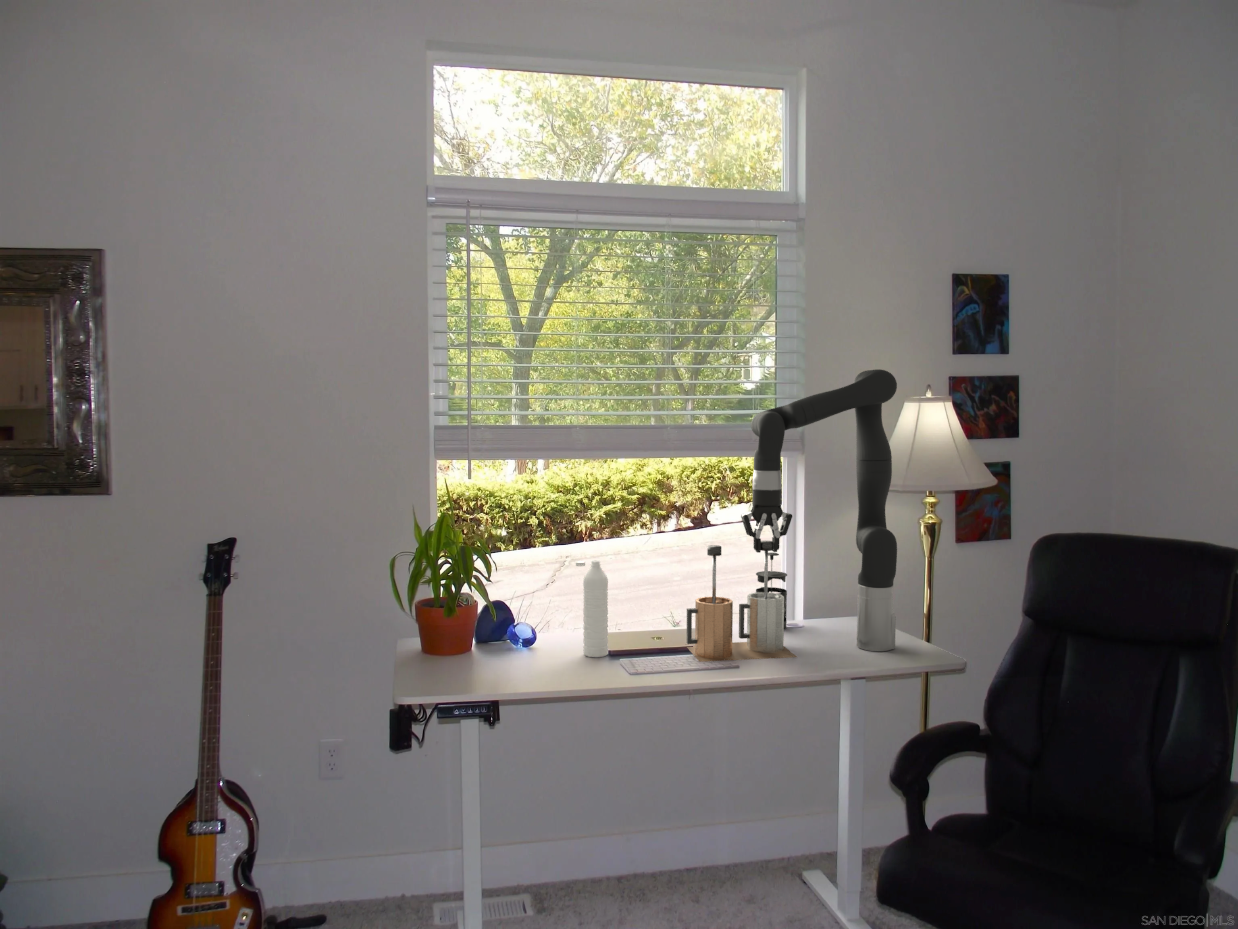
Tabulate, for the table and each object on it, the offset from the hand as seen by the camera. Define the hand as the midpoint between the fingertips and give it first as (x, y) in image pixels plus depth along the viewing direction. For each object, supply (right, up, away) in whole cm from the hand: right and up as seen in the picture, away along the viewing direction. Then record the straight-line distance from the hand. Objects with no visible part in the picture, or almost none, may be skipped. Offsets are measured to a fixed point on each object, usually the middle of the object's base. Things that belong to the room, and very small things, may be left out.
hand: (766, 551), depth 230 cm
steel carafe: (-1, -26, +1) cm, 26 cm away
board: (-7, -27, -1) cm, 28 cm away
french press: (+5, -26, +25) cm, 36 cm away
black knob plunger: (-14, -14, -4) cm, 21 cm away
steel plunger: (0, -13, +1) cm, 14 cm away
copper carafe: (-16, -26, -4) cm, 31 cm away
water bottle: (-46, -27, -1) cm, 54 cm away
